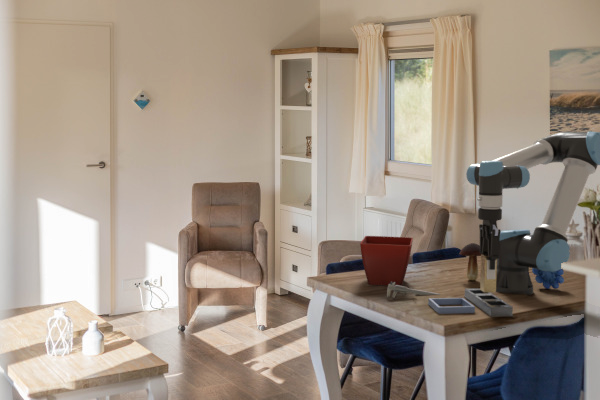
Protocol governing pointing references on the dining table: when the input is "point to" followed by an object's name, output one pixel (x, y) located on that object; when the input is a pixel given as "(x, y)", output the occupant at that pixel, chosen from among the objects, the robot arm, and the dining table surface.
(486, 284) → the brass peg
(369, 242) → the plant pot
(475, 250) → the decorative mushroom
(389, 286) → the caliper
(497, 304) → the socket rail
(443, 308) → the tray
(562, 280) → the grapes
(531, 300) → the dining table surface
